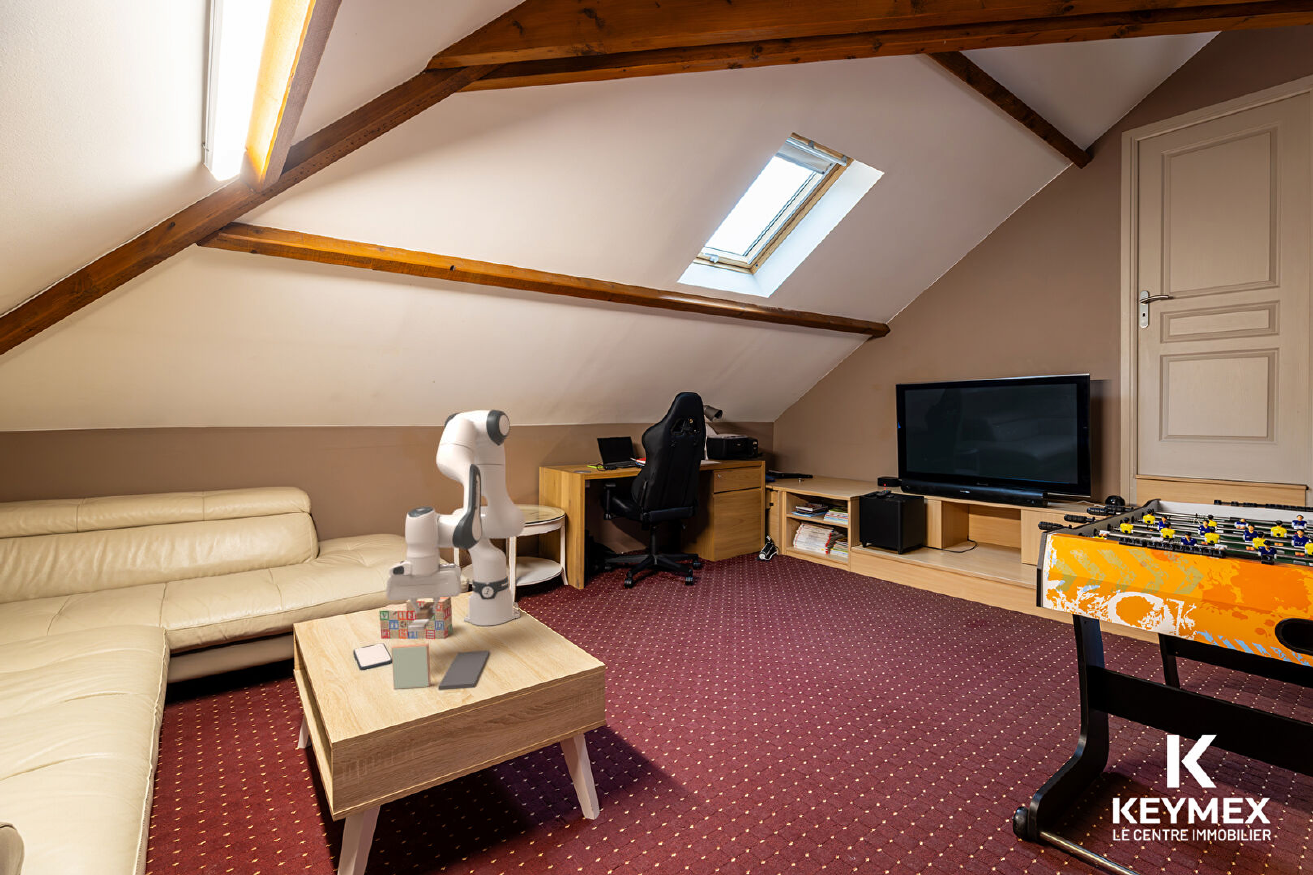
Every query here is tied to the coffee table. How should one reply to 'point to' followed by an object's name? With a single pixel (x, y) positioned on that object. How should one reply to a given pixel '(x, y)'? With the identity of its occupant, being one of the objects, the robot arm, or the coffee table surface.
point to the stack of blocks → (402, 616)
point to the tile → (411, 666)
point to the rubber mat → (464, 670)
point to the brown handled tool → (422, 618)
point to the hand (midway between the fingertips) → (425, 612)
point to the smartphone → (372, 656)
